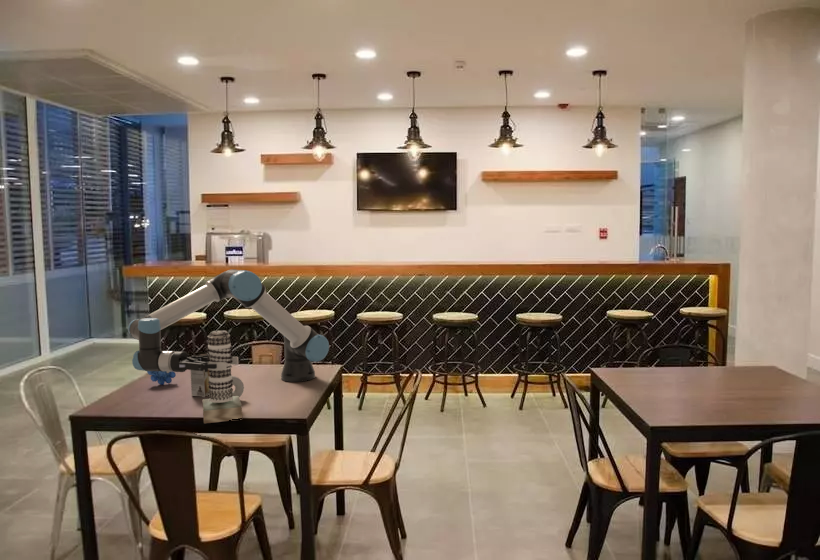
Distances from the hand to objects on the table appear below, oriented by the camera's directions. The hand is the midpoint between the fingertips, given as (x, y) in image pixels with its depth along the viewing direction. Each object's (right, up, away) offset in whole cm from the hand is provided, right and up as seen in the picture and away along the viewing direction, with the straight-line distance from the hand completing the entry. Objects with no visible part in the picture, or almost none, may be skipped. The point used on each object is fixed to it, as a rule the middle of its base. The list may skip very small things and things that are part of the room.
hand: (232, 363), depth 225 cm
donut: (-7, -18, +23) cm, 30 cm away
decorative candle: (-4, -14, +2) cm, 14 cm away
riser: (-4, -19, +3) cm, 20 cm away
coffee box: (-21, -17, +33) cm, 42 cm away
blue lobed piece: (-45, -16, +49) cm, 68 cm away
